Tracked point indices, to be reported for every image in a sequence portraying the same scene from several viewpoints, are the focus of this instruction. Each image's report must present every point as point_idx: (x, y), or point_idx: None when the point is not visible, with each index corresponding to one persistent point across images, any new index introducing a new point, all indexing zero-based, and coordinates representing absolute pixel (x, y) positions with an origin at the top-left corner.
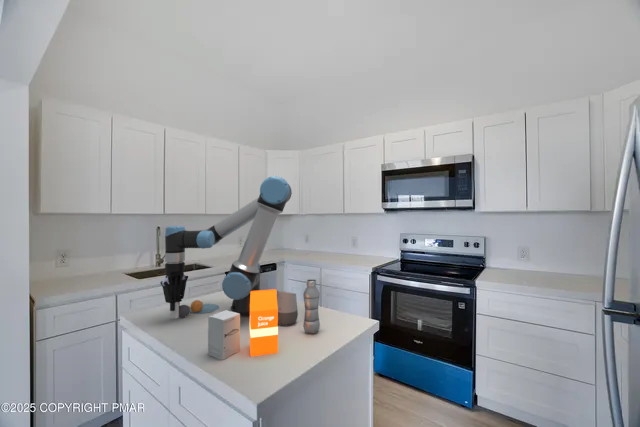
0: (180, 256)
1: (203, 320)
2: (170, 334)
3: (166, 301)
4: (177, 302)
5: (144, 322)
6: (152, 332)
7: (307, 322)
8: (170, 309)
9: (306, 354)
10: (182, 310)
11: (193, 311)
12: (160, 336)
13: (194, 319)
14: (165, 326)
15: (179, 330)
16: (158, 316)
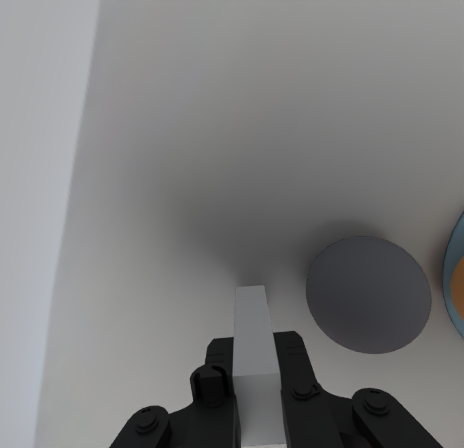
0: None
1: None
2: (108, 422)
3: (128, 439)
4: (266, 443)
5: (148, 85)
6: (71, 312)
7: None
8: (208, 353)
9: None
10: (330, 337)
11: (450, 284)
12: (64, 397)
13: (340, 370)
14: (170, 302)
15: None
16: (291, 58)
